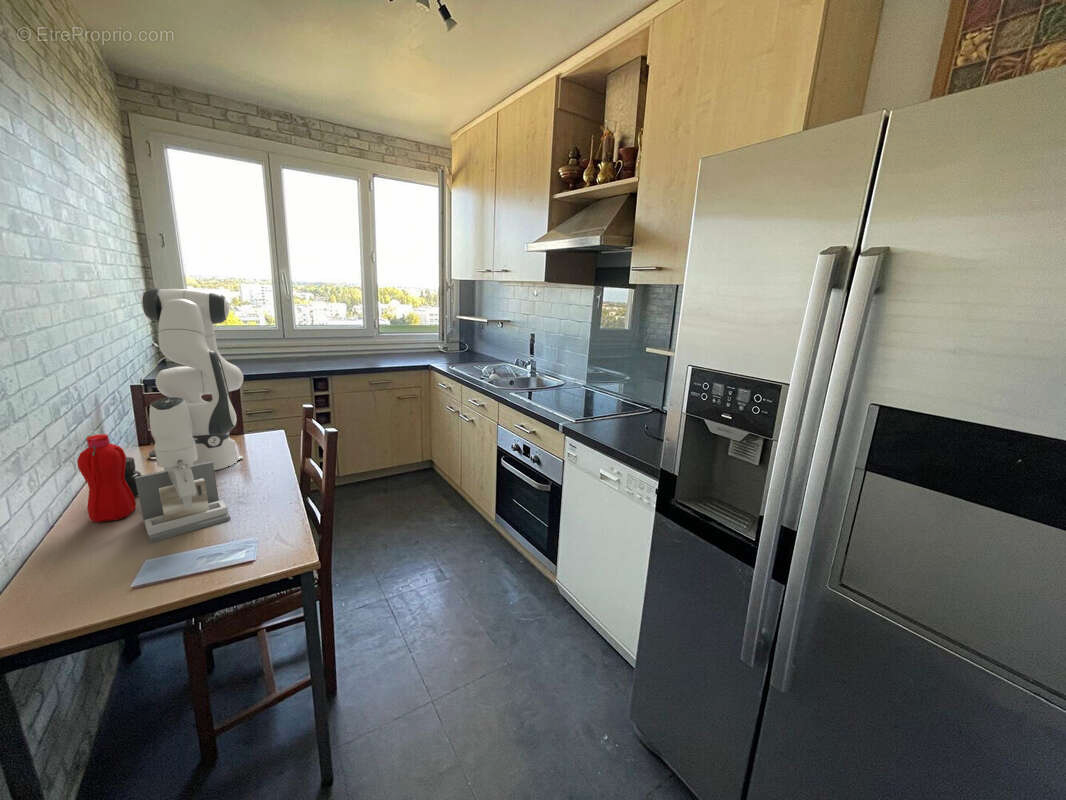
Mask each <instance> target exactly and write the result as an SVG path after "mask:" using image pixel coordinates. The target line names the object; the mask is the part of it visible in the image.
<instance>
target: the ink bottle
mask: <svg viewBox="0 0 1066 800" xmlns="http://www.w3.org/2000/svg"><path fill="white" fill-rule="evenodd" d="M141 475H142V473H141V472H140V471H138V470H136V463H135V458H134V457H130V456H128V457H127V456H126V464H125V481H126V482H127V484H128V486H129V488H130V490H131V491H132V493H133V495H134V498H136V497H139V496H138V491H137V486H136V481H135V477H136V476H141Z"/></svg>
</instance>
